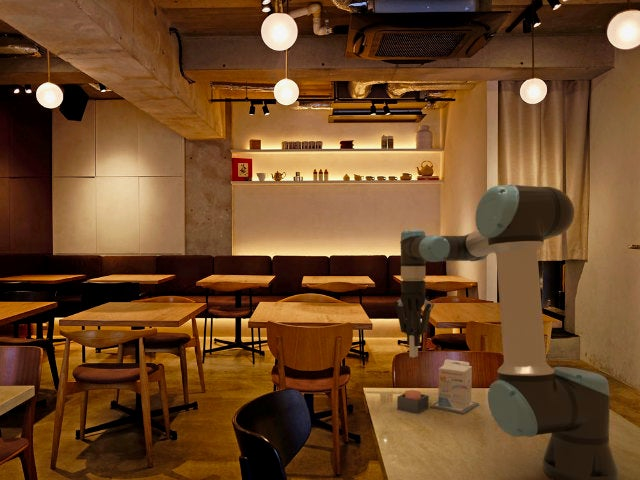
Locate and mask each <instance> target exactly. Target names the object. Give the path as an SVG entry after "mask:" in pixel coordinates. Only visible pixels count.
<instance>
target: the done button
mask: <svg viewBox="0 0 640 480" xmlns="http://www.w3.org/2000/svg"><path fill="white" fill-rule="evenodd" d="M404 393H405V397H406V398H411V399H416V400H417V399H419V398H421V394H422V392H421V391H419V390H413V389H412V390H411V389H410V390H405V392H404Z"/></svg>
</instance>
